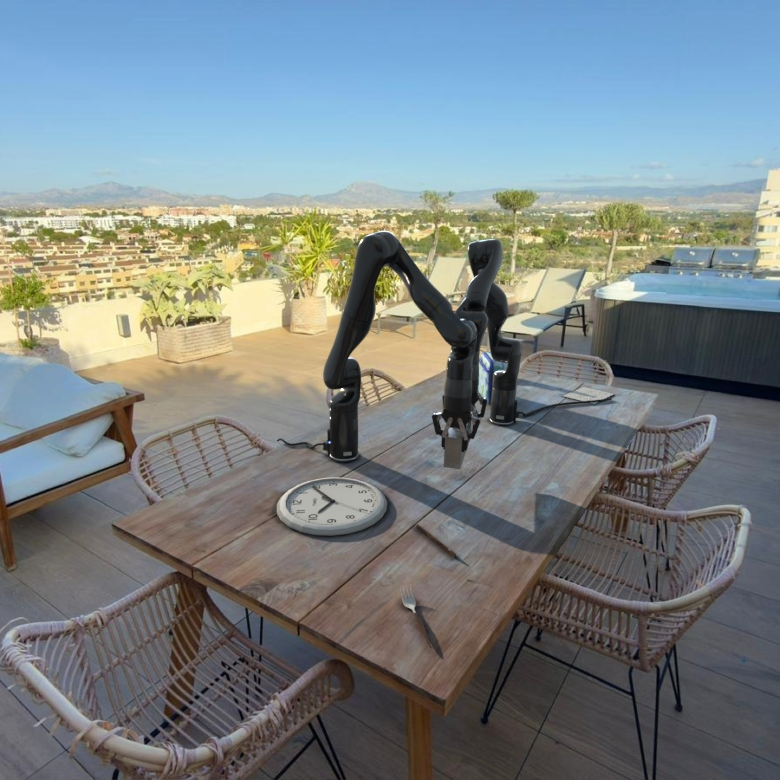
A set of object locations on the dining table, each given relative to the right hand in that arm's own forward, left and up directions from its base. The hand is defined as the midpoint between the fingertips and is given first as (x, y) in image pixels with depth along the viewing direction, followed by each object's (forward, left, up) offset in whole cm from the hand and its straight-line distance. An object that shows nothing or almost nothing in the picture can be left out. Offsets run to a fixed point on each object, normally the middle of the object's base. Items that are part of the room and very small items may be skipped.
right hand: (463, 427), depth 164 cm
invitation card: (-86, -58, -13) cm, 104 cm away
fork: (+34, +62, -13) cm, 72 cm away
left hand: (+8, +15, 0) cm, 17 cm away
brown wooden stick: (+22, +38, -13) cm, 46 cm away
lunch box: (-39, -61, -13) cm, 74 cm away
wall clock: (+44, +15, -13) cm, 48 cm away
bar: (+4, +7, -5) cm, 10 cm away
